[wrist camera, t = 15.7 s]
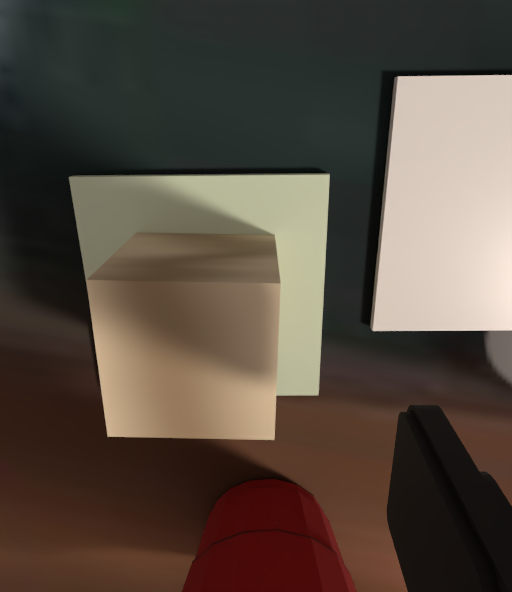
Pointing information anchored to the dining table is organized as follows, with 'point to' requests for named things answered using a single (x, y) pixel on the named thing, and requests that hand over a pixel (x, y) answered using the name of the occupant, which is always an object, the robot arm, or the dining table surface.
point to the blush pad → (446, 207)
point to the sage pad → (225, 220)
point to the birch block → (188, 336)
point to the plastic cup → (268, 543)
